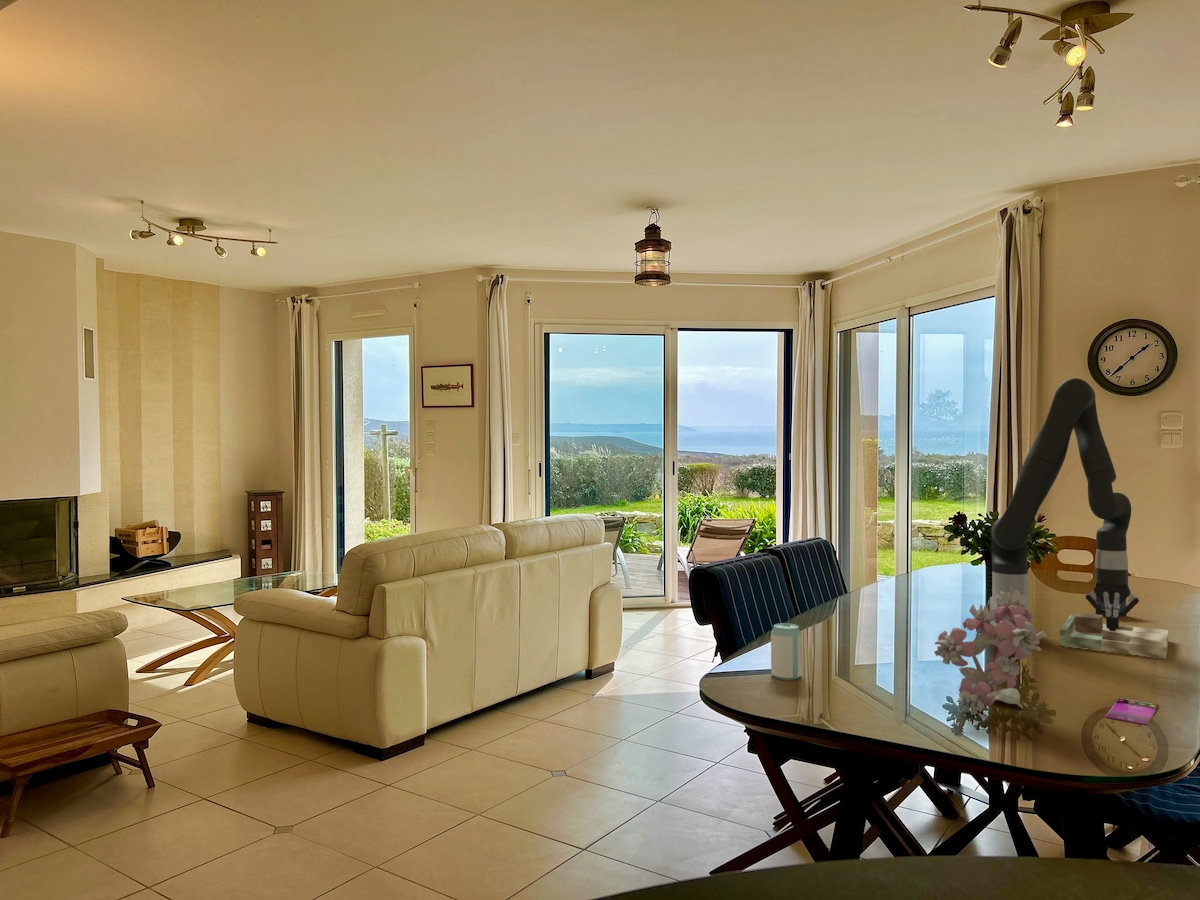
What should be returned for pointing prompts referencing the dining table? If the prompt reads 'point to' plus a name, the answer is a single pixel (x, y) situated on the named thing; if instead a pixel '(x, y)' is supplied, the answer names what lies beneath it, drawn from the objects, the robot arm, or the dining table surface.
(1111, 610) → the flask
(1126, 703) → the smartphone
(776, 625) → the can
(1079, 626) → the walnut block
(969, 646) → the flower
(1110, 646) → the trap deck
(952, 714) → the dining table surface
